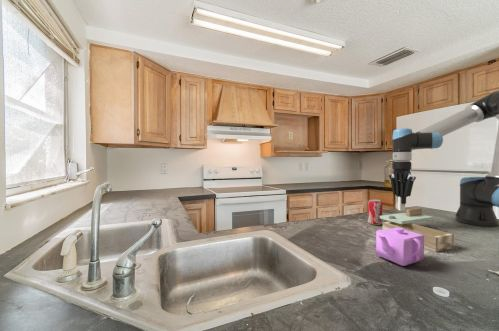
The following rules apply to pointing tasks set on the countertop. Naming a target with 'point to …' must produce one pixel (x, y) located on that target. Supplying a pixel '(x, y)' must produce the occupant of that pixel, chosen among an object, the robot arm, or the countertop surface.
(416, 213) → the cover
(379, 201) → the beverage can
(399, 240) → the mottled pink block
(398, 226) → the trough
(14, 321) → the countertop surface
